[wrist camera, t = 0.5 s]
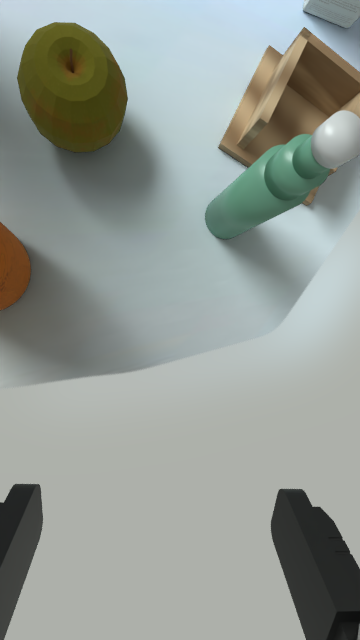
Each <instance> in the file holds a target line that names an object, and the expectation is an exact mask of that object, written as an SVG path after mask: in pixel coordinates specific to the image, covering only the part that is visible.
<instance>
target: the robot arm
mask: <svg viewBox="0 0 360 640" xmlns="http://www.w3.org/2000/svg"><path fill="white" fill-rule="evenodd" d="M42 523H43V514H42V501H41V488H40V485H39V484H15V485H13V487H12V489H11V490H10V492H9V494H8V496H7V498H6V500H5V502H4V503H0V640H4V638H5V635H6V632H7V629H8V626H9V623H10V621H11V618H12V615H13V612H14V610H15V607H16V604H17V601H18V598H19V595H20V592H21V589H22V587H23V584H24V581H25V579H26V576H27V573H28V570H29V567H30V564H31V562H32V559H33V556H34V553H35V550H36V548H37V545H38V542H39V539H40V535H41V530H42ZM271 533H272V539H273V542H274V545H275V548H276V551H277V554H278V557H279V560H280V563H281V566H282V569H283V572H284V575H285V578H286V581H287V584H288V587H289V589H290V593H291V596H292V599H293V602H294V605H295V608H296V611H297V614H298V617H299V620H300V623H301V626H302V629H303V632H304V634H305V637H306V640H360V569H359V567H358V565H357V563H356V561H355V560H354V558H353V556H352V555H351V554H350V551H349V548H348V547H347V545H346V543H345V541H343V539H342V536H341V534H340V532H339V531H338V528H337V527H336V525H335V523H334V521H333V520H332V519H331V518H330V517H329V516H328V515H327V514H326V513H325V512H324V511H323V510H322V509H321V508H320V507H312V505H311V503H310V501H309V499H308V497H307V495H306V493H305V492H304V491H303V490H302V489H280V490H279V492H278V495H277V499H276V503H275V507H274V511H273V516H272V520H271Z"/></svg>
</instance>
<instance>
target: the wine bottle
mask: <svg viewBox="0 0 360 640" xmlns="http://www.w3.org/2000/svg"><path fill="white" fill-rule="evenodd" d="M30 275H31V266H30V260H29V257H28V254H27V252H26V250H25V248H24V246H23V245H22V244H21V242H20V241H19V240H18V239H17V237H16V236H15V235H14V234H13V233H12V232H11V231H10V230H8V229H7V228H6V227H5V226H4V225H3V224H2V223H1V222H0V310H3V309H5V308H7V307H9V306H10V305H12V304H13V303H15V302H16V301H17V300H18V299H19V298H20V297H21V296H22V295H23V293H24V292H25V290H26V288H27V286H28V283H29V280H30Z"/></svg>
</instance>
